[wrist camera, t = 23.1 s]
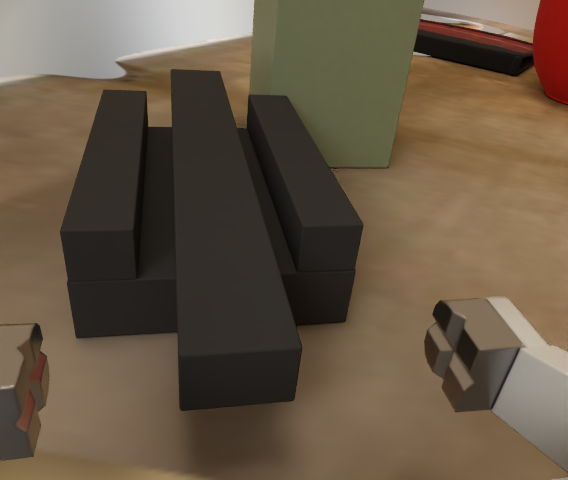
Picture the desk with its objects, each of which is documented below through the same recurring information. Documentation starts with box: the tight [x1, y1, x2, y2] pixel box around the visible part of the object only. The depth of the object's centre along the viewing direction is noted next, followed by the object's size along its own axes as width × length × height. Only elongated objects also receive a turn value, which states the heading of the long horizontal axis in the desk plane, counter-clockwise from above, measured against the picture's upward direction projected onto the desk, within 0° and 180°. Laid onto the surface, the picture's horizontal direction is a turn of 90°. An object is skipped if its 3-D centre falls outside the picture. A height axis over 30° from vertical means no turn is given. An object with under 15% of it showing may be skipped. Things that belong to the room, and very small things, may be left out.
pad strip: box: [171, 69, 302, 411], centre depth 23 cm, size 3×24×2 cm, turn 11°
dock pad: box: [60, 90, 363, 338], centre depth 24 cm, size 10×14×4 cm
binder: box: [413, 19, 534, 75], centre depth 67 cm, size 16×2×21 cm
